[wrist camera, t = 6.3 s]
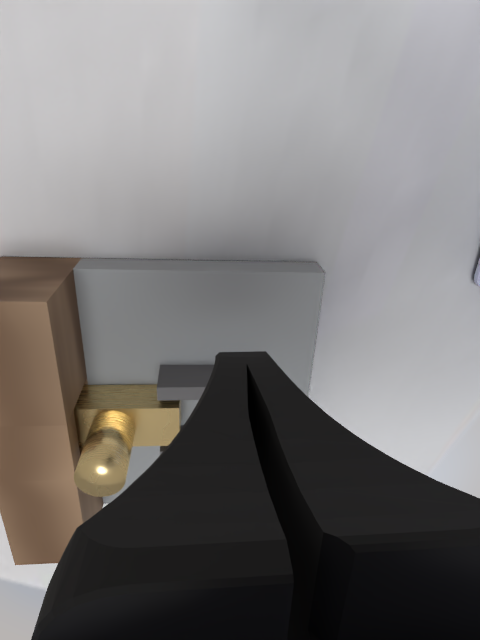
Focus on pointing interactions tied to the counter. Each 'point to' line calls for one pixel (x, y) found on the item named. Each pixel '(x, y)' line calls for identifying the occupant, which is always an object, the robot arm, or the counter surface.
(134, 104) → the counter surface
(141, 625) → the robot arm
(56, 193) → the counter surface
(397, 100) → the counter surface
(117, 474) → the bolt
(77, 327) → the jamb
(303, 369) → the door slab
